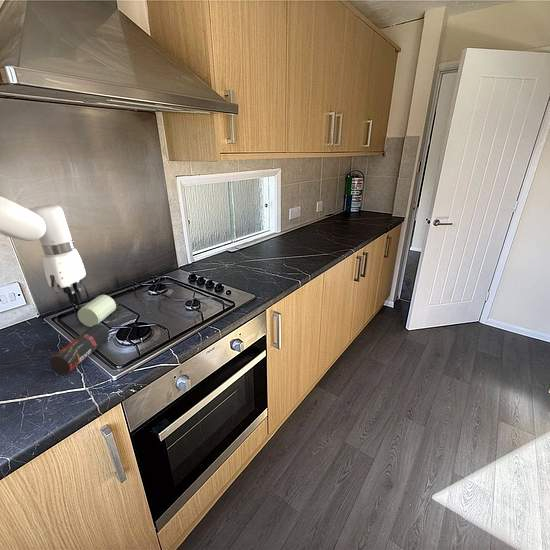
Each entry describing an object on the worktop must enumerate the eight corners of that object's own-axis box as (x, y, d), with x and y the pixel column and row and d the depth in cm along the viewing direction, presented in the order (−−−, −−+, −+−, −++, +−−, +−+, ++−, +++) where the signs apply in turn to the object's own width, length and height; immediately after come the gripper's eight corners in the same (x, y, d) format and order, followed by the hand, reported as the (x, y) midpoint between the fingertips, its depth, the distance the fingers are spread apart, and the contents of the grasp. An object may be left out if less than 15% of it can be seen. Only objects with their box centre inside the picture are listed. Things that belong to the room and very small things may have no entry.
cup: (74, 307, 97) (94, 294, 106) (81, 326, 100) (99, 312, 109) (94, 308, 96) (113, 295, 105) (100, 327, 99) (118, 312, 108)
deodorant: (73, 365, 77) (111, 332, 90) (53, 352, 76) (94, 321, 90) (66, 377, 79) (105, 343, 93) (47, 365, 78) (88, 332, 92)
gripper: (68, 240, 94) (84, 291, 101) (24, 256, 81) (46, 313, 88) (88, 241, 93) (103, 293, 100) (47, 256, 79) (68, 315, 86)
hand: (76, 302), depth 94 cm, fingers closed
